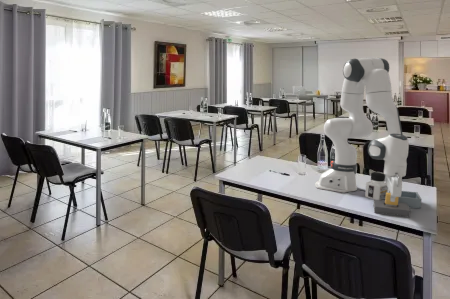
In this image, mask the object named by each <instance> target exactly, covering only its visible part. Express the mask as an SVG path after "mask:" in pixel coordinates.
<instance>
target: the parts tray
mask: <svg viewBox="0 0 450 299" xmlns="http://www.w3.org/2000/svg"><path fill="white" fill-rule="evenodd" d="M422 200H423V199H422V198H421V196H420V194H419V193H418V192H417V191H407V190H402V193H401V197H399V198H398V202H401V203H407V205H408V207H409V208H411V209H412V208H414V209H421V208H422Z"/></svg>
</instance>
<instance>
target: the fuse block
mask: <svg viewBox="0 0 450 299" xmlns="http://www.w3.org/2000/svg"><path fill="white" fill-rule="evenodd" d="M372 204H373V205H372V208H373V211H374V214H382V215H389V216H396V217H397V216H398V217H404V218H410V216H411V215H410V214H411V209H410V207H408V205H407V203H401V202H398V205H397V207H395V206H386V204H385V200H384V199H382V200H375V199H373V203H372Z"/></svg>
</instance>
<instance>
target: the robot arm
mask: <svg viewBox="0 0 450 299" xmlns="http://www.w3.org/2000/svg"><path fill="white" fill-rule="evenodd" d="M389 72H390V63H389V62H388V60H387V59H385V58H382V57H362V58H361V57H360V58H350V59H348V60H347V61H345V63H344V64H343V69H342V74H343V76H344V79H343V82H342V86H341V93H340V94H341V96H340V101H339V102H340V103H339V104H340V107H341V109H342V110H344V111H345V112H347V113H348V115H349V116H348V117H334V118H329V119H326V121H325V122H324V124H323V132H324V135H325V136H326V137H327V138H329V140H331V141H332V144H333V145H334V161H333V160H331V161H330V163H329V164H330V168H329V169H327V170H325V171H324V172H322V173H321V174H320V177H319V180H316V182H315V183H314V187H315V188H317V189H320V190H326V191H330V192H338V193H347V192H348V193H349V192H354V191H357V190H358V185H357V177H356V176H357V170H358V164H357V155H358V150H357V148H356V147H355V146H354V145H352V144H350V143H348V139H363V138H367V137H369V136H371V135H372V133H373V132H374V131H373V130H374V124H373V122H372V121H371V120H370V119H369V118H368V117H367V116H366V114H365V112H364V96H365V103H366V106H367V108H368V109H369V110H370V111H371V112H373V113H376V114H378V115H379V116H380V117H383V119H384V120H385V123H386V129H387V135H386V136H384V137H381V138H376V139H373V140H371V141H370V142H369V143H368V145H367V153H368V155H369V157H370V158H371V159H373V160H377V161H378V160H383V161H384V165H383V166H384V167H383V173H384V174H385V182H384V183H386V185H387V187H388V193H391V197H390V201H391V202H395V198H396V197H401V193H402V191H403V180H402V179H403V177H405V176H406V174H407V165H408V163H407V158H408V157H409V148H410V147H409V140H408V136H406V135H404V134H403V129H402V124H401V123H402V122H401V117H400V112H399V109H398V107H397V105H396V104H395V100H394V99H393V93H392V91H393V90H392V83H391V78H390V74H389Z"/></svg>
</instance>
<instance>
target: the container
mask: <svg viewBox="0 0 450 299" xmlns="http://www.w3.org/2000/svg"><path fill="white" fill-rule="evenodd" d="M386 192H387V193H389V189H388V187H387V185H386V182H385V174H384V172H380V171H374V172H373V171H372V172H371V173H370V181H368V182H366V184H365V194H364V195H365V198H369V199H372V200H385V198H386Z"/></svg>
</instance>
